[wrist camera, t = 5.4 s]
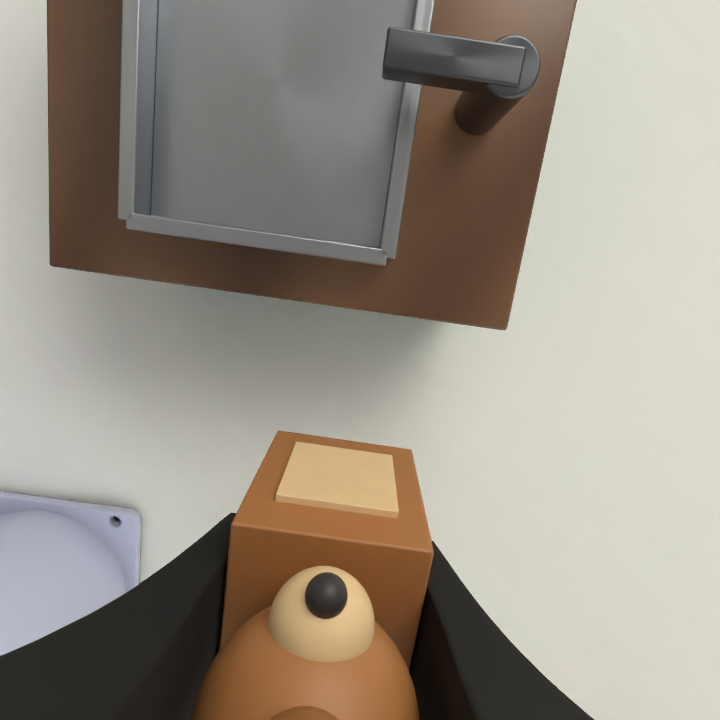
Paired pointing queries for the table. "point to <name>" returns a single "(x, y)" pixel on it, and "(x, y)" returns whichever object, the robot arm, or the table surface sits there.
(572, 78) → the table surface
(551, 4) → the toy sink
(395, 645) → the toy bear
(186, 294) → the table surface
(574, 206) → the table surface
